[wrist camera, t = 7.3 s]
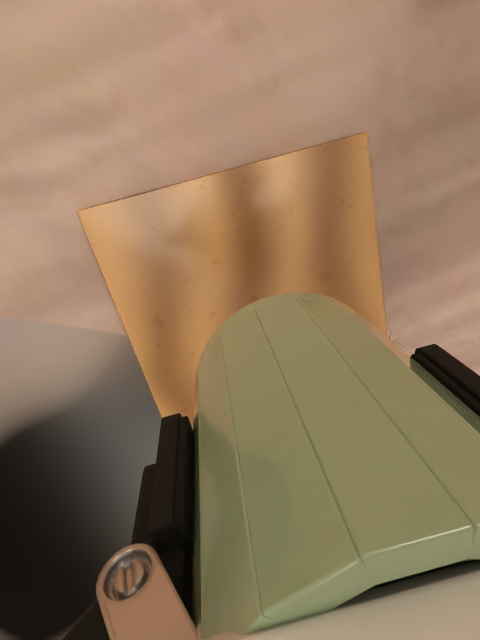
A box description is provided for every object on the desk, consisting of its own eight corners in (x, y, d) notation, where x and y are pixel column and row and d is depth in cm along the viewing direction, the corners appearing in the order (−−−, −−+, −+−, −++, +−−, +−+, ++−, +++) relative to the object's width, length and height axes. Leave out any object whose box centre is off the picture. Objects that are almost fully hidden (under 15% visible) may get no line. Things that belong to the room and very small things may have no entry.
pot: (371, 268, 13) (712, 462, 4) (387, 429, 15) (614, 738, 7) (169, 322, 12) (119, 626, 4) (222, 474, 15) (255, 840, 7)
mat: (363, 132, 25) (367, 131, 25) (388, 376, 33) (391, 379, 33) (78, 210, 25) (76, 211, 25) (171, 436, 33) (171, 441, 33)
